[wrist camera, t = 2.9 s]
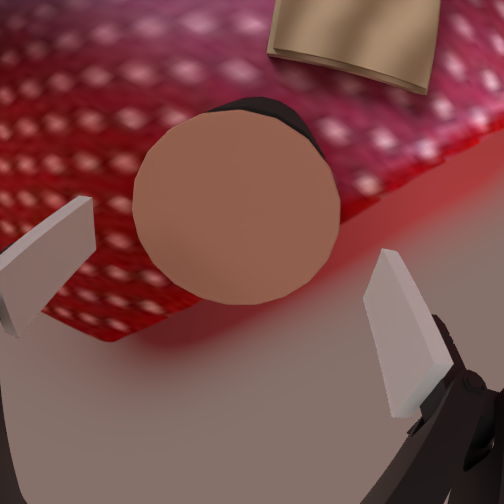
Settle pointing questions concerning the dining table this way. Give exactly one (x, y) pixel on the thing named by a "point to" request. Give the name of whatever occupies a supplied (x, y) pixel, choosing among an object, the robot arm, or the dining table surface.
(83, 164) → the dining table surface
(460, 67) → the dining table surface
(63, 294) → the dining table surface
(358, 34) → the plinth
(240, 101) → the coffee jar
